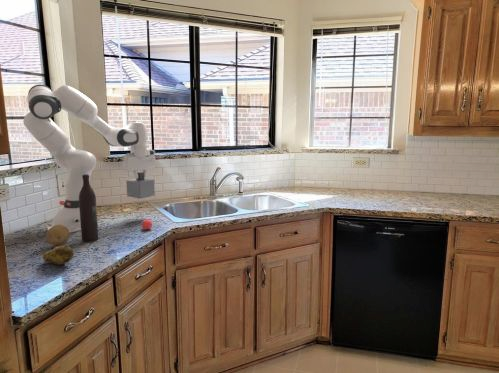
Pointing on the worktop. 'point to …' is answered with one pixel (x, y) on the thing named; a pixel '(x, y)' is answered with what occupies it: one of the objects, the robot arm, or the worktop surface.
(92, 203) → the wine bottle
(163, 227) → the worktop surface
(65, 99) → the robot arm
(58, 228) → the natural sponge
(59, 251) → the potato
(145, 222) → the ball
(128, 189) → the cover
